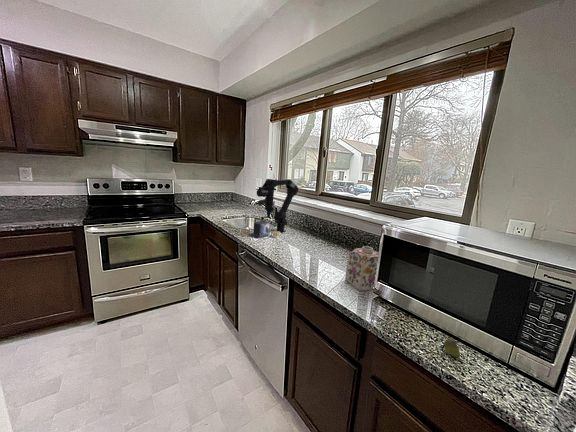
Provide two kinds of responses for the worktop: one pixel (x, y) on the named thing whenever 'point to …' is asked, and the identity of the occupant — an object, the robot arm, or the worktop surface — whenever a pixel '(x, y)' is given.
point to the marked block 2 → (276, 234)
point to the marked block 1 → (245, 232)
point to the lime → (451, 347)
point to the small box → (261, 229)
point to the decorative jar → (362, 268)
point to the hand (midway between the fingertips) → (268, 217)
